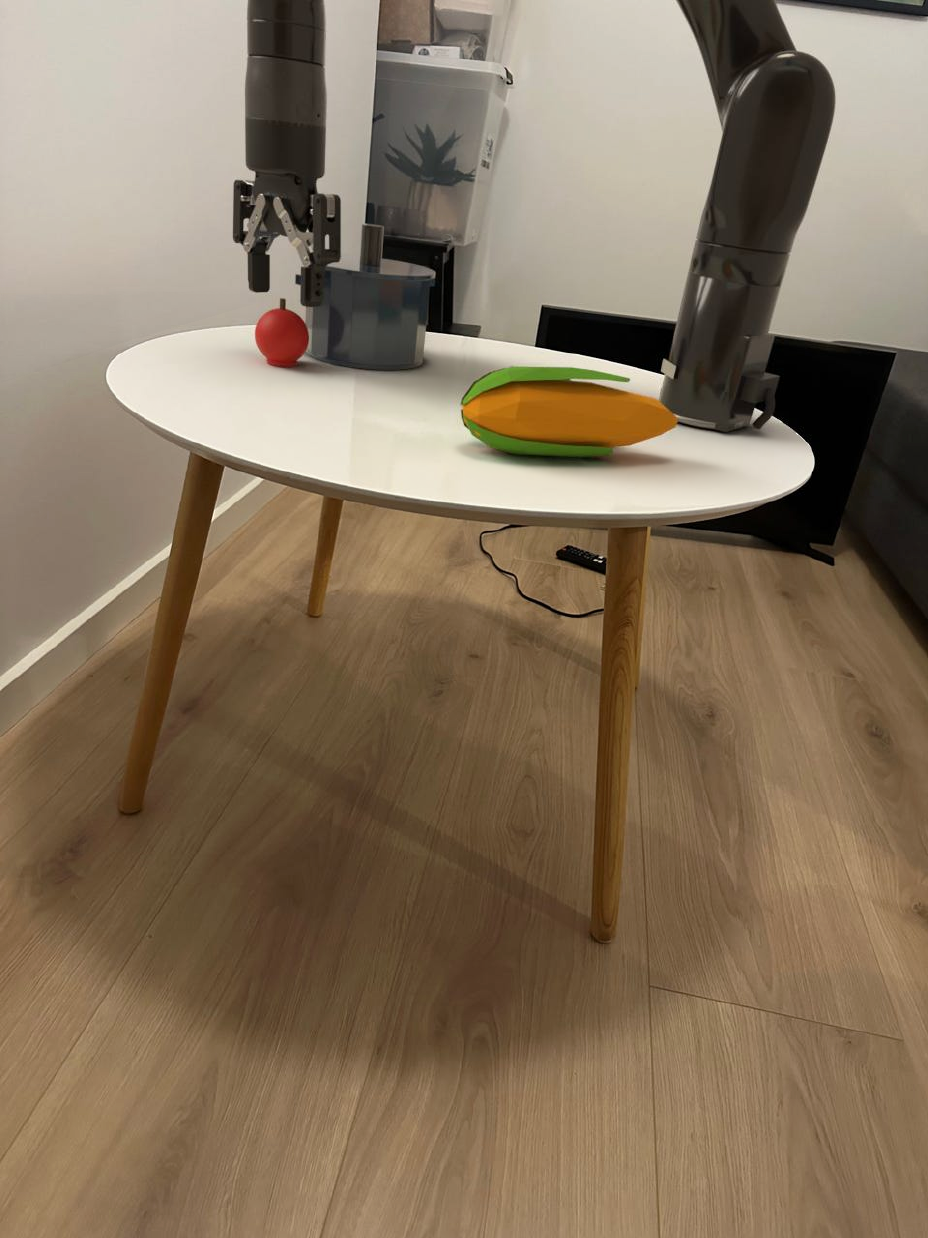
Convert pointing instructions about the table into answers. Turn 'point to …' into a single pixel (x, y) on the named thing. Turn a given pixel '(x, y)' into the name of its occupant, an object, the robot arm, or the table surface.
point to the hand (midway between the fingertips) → (284, 298)
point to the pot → (369, 322)
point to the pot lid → (377, 261)
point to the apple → (281, 336)
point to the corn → (559, 412)
